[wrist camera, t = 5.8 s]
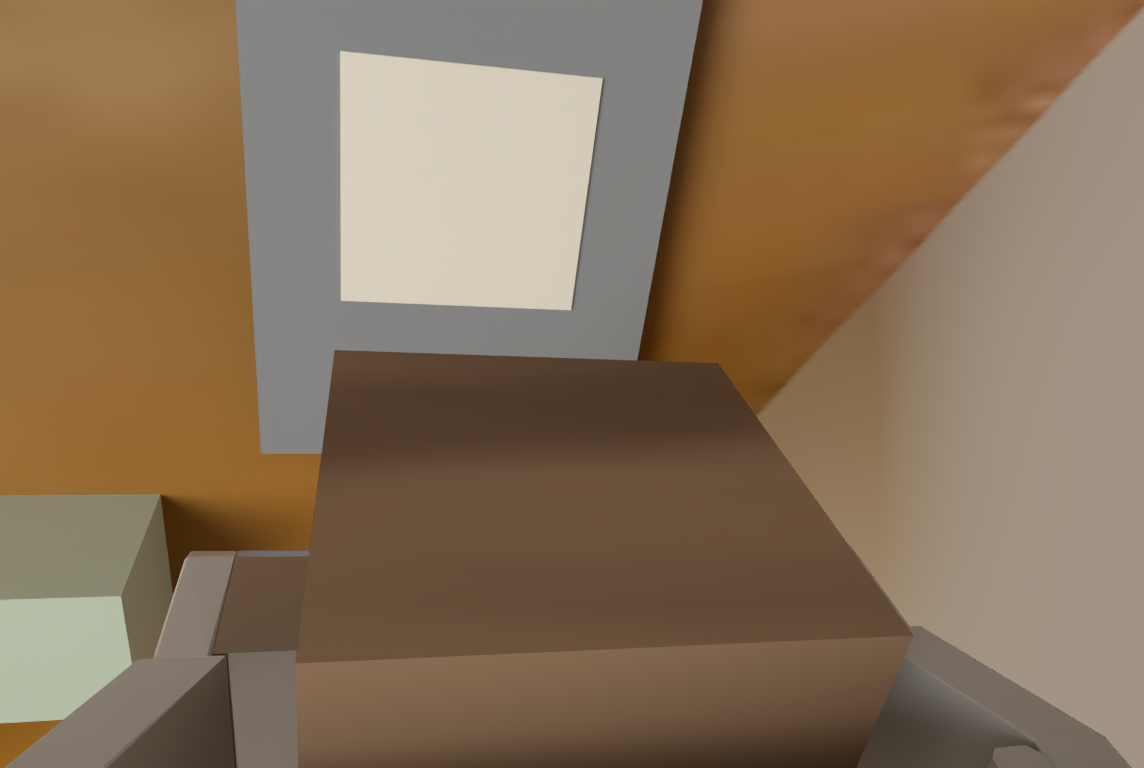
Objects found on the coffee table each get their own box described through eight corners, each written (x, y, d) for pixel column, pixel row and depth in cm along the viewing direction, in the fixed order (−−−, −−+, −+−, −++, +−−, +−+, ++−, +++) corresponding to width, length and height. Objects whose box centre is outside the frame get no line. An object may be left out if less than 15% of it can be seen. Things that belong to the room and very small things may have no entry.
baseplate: (231, -219, 20) (222, -226, 19) (713, -138, 22) (729, -140, 21) (265, 433, 28) (260, 455, 27) (612, 436, 31) (620, 456, 30)
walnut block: (334, 350, 10) (294, 664, 6) (717, 363, 11) (914, 635, 7) (333, 648, 13) (305, 1027, 8) (653, 635, 14) (771, 964, 9)
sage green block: (-5, 493, 28) (-78, 602, 23) (160, 492, 29) (120, 596, 24) (22, 608, 30) (-39, 725, 26) (174, 603, 31) (140, 714, 27)
